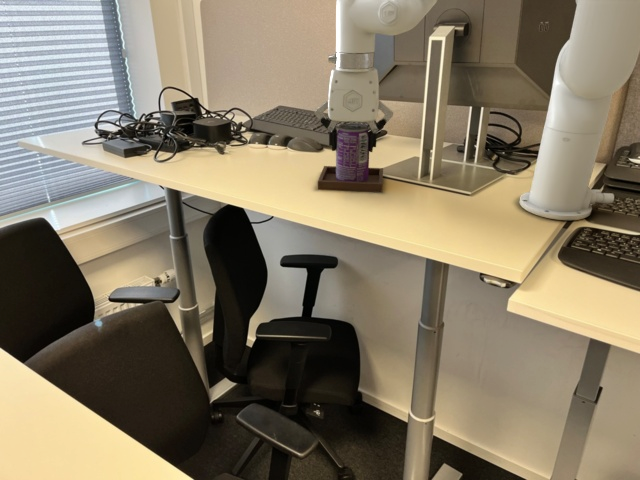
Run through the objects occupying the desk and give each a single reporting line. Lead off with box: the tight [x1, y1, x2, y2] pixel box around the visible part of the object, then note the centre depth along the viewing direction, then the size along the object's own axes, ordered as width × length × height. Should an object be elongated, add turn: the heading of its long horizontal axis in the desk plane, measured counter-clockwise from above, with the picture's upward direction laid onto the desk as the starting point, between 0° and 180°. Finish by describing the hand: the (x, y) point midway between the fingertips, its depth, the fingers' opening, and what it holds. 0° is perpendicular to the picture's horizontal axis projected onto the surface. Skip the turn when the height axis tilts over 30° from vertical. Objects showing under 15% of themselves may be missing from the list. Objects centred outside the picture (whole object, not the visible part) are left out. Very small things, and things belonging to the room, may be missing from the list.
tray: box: [317, 165, 384, 193], centre depth 103 cm, size 14×10×2 cm
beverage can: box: [335, 122, 370, 182], centre depth 100 cm, size 7×7×12 cm
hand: (352, 149), depth 100 cm, fingers closed on beverage can, 7 cm apart
